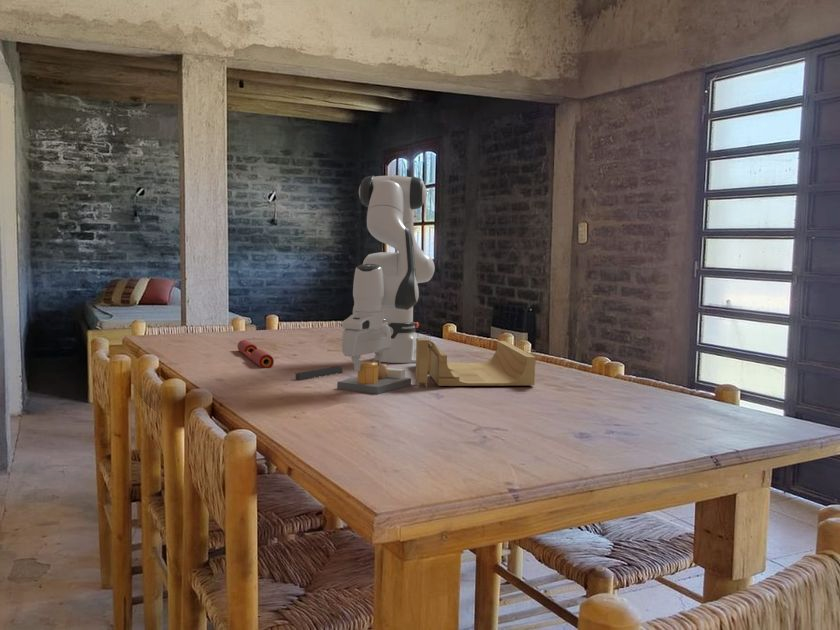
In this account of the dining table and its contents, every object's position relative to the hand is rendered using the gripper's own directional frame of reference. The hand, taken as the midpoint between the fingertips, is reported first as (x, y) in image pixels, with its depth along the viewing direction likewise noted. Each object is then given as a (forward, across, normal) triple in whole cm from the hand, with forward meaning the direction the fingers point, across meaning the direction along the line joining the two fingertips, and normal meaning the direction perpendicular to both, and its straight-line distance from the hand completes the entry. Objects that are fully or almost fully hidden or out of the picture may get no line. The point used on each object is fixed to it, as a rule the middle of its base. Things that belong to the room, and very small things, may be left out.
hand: (367, 368), depth 214 cm
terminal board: (+6, -4, 0) cm, 7 cm away
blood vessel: (+7, -22, -64) cm, 68 cm away
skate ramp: (+7, -37, +13) cm, 40 cm away
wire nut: (+4, 0, 0) cm, 4 cm away
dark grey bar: (+5, -10, -19) cm, 22 cm away
